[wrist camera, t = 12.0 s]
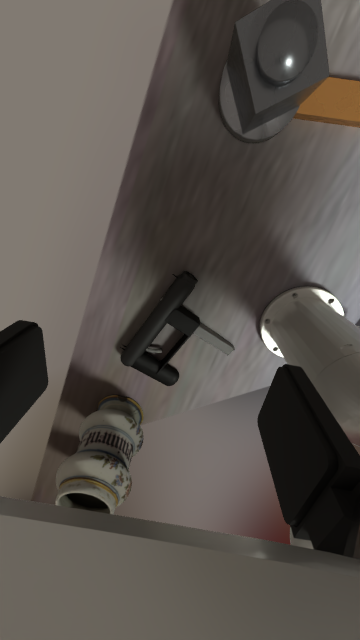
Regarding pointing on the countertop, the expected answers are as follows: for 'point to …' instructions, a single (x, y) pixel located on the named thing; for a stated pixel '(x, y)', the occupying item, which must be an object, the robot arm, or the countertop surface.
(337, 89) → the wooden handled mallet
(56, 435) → the countertop surface
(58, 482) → the apothecary jar
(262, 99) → the socket
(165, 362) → the door handle
